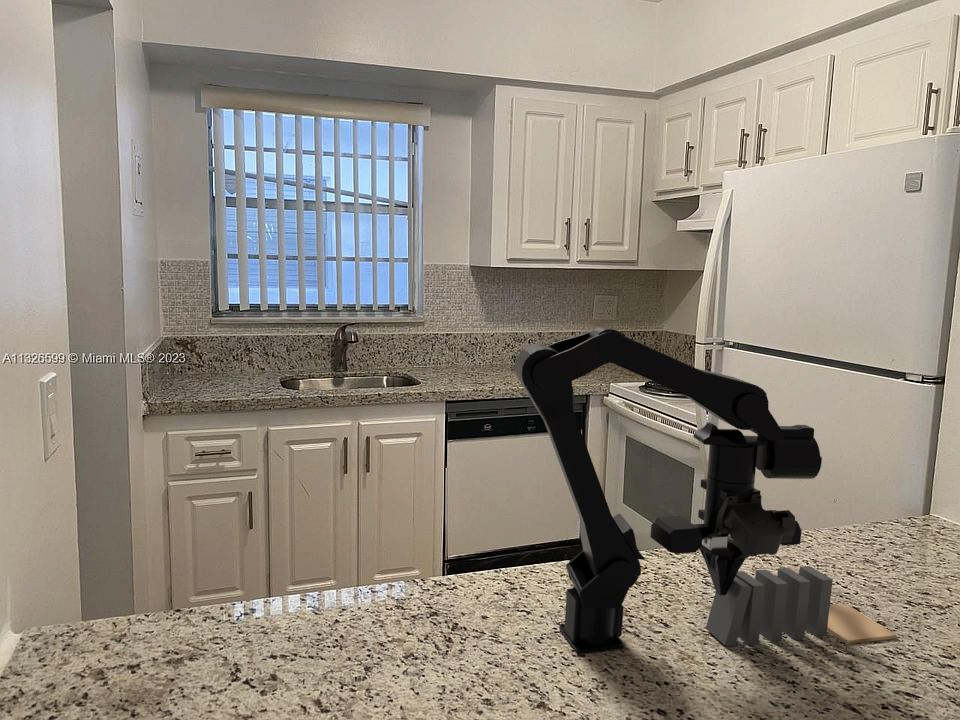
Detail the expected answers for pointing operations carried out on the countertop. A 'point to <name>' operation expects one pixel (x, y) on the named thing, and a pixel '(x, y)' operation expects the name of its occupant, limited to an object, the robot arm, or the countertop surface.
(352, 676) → the countertop surface
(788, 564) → the countertop surface
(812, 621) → the tile
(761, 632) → the tile
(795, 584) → the tile
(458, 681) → the countertop surface
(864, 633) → the pad
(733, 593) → the tile
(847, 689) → the countertop surface
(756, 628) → the tile
